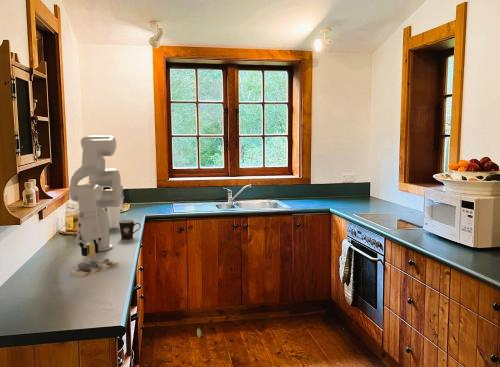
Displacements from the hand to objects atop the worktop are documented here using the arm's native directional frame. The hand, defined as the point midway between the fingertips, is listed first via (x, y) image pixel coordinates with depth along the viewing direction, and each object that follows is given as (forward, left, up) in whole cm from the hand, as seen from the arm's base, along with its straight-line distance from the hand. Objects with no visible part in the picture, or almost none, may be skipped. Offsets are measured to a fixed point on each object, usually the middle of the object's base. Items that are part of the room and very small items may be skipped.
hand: (90, 253), depth 205 cm
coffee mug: (-15, +57, -8) cm, 60 cm away
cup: (-40, +81, -8) cm, 91 cm away
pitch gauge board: (+2, +1, -7) cm, 8 cm away
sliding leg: (+1, 0, -6) cm, 6 cm away
